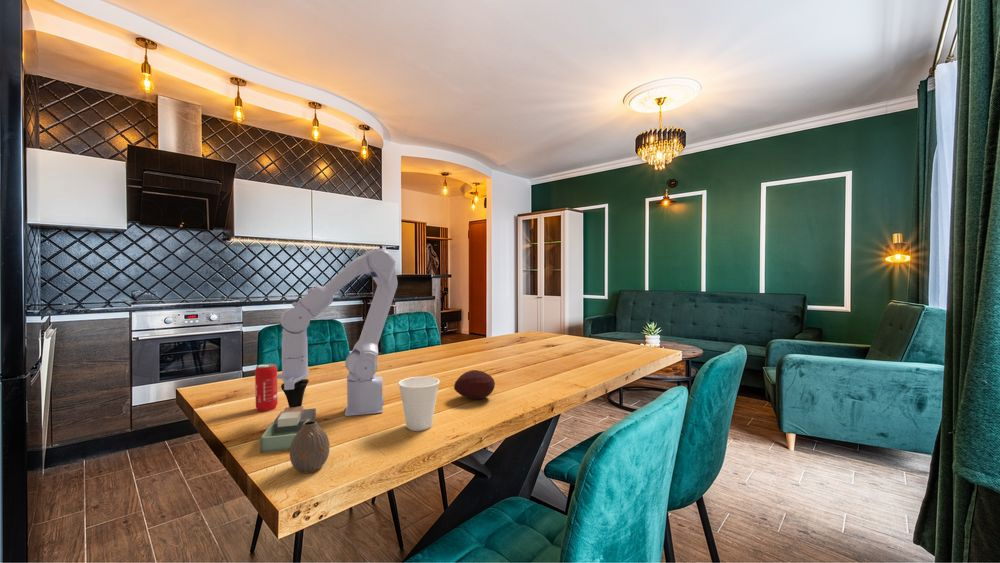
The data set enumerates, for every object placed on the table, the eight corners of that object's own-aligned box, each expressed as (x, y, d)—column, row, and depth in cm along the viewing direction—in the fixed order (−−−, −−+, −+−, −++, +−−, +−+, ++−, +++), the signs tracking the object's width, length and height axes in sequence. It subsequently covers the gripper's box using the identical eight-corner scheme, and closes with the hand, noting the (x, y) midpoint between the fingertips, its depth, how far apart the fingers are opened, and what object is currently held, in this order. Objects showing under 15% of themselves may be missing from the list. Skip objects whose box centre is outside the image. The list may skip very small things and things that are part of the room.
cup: (446, 421, 100) (446, 378, 100) (427, 437, 91) (427, 389, 91) (412, 417, 104) (412, 374, 103) (389, 431, 94) (389, 385, 94)
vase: (281, 473, 75) (280, 426, 74) (310, 457, 81) (310, 414, 81) (309, 480, 72) (308, 431, 72) (337, 463, 79) (337, 418, 78)
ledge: (315, 417, 103) (315, 408, 103) (310, 431, 94) (309, 420, 94) (281, 421, 101) (281, 411, 101) (272, 435, 92) (271, 424, 92)
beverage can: (267, 412, 107) (267, 368, 107) (251, 411, 108) (250, 367, 108) (281, 406, 112) (281, 363, 112) (265, 405, 113) (265, 362, 113)
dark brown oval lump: (502, 398, 119) (502, 370, 119) (475, 408, 111) (475, 378, 111) (475, 391, 127) (475, 364, 127) (448, 399, 118) (448, 371, 118)
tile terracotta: (303, 413, 99) (303, 406, 99) (300, 418, 96) (300, 411, 96) (285, 414, 98) (285, 407, 98) (281, 420, 94) (281, 413, 94)
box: (310, 431, 94) (309, 418, 94) (302, 448, 85) (302, 434, 85) (272, 435, 92) (271, 422, 92) (260, 452, 83) (260, 438, 83)
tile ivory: (300, 418, 96) (300, 411, 96) (297, 425, 92) (297, 417, 92) (282, 420, 94) (281, 412, 94) (277, 427, 91) (277, 419, 91)
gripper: (283, 351, 105) (284, 403, 106) (269, 363, 91) (269, 422, 92) (313, 350, 107) (313, 400, 108) (303, 361, 93) (303, 419, 94)
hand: (295, 410), depth 100 cm, fingers closed
